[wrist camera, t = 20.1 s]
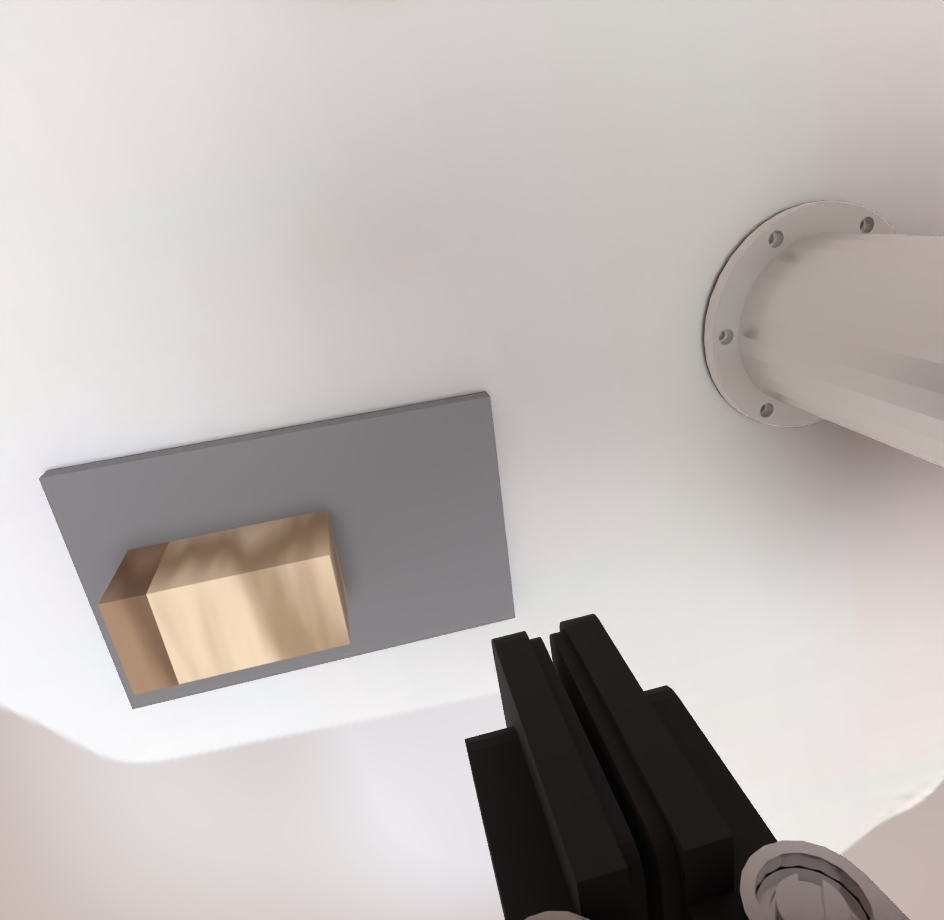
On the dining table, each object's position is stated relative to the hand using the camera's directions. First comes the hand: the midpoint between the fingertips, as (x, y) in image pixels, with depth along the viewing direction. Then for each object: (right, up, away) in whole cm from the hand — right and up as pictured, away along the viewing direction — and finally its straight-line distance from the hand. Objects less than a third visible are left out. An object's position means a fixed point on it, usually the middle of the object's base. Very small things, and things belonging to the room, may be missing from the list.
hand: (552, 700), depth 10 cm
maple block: (-8, -2, +23) cm, 24 cm away
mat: (-10, -1, +26) cm, 28 cm away
